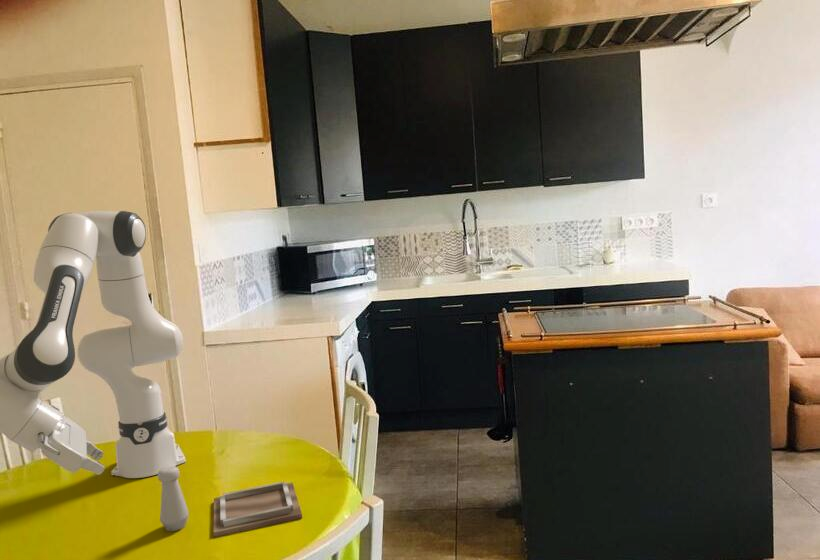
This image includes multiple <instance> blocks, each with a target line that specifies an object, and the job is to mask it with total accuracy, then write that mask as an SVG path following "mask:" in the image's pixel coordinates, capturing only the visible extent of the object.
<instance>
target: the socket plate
mask: <svg viewBox="0 0 820 560" xmlns="http://www.w3.org/2000/svg"><path fill="white" fill-rule="evenodd" d="M301 519H303V513H302V511H301V506H300V502H299V500H298V497H297V494H296V489H295V487H294V483H293V481H292V482H285V481H281V482H280V481H279V482H274V483H270V484H264V485H261V486H254V487H250V488H249V487H248V488H245V489H240V490H235V491H231V492H224V493H222V495H220V496H218V497H214V498H213V537H214V538H216V537H217V538H218V537H220V536H226V535H231V534H236V533H240V532H239V531H241V532H245V531H250V530H254V529H258V528H259V529H260V528H263V527H267V526H268V527H269V526H272V525H277V524H282V523H286V522H290V521H296V520H301ZM253 528H254V529H253ZM249 529H250V530H249ZM244 530H245V531H244ZM235 532H236V533H235Z"/></svg>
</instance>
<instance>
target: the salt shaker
mask: <svg viewBox="0 0 820 560" xmlns="http://www.w3.org/2000/svg"><path fill="white" fill-rule="evenodd" d="M157 478H158V481H159V482H160V483H161V500H160V501H161V502H160V513H159V521H160V523H161V524H162V526H163V527H164V528H165V530H166V531H167V532H176V531H180V530H182V529H184V528H185V526H186V525H187V522H188V518H189V509H188V507H187V503H186V500H185V497H184V494H183V491H182V488H181V485H180V482H179V478H180V469H179V468H178V467H177V466H169V467H165V468H163V469H161V470H160V471H159V472H158V474H157Z"/></svg>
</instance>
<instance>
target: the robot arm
mask: <svg viewBox="0 0 820 560" xmlns="http://www.w3.org/2000/svg"><path fill="white" fill-rule="evenodd" d="M146 238H147V231H146V225H145V222H144V220H143V219H142V218H141V217H140V216H139V215H138V214H137V213H136V212H132V211H127V210H121V211H116V210H114V211H113V210H94V211H85V212H84V211H83V212H76V213H72V212H67V213H63V214H60V215H57V216H55V217H54V219H52V221H51V222H50V224H49V226H48V228H47V233H46V235H45V237H44V239H43V242H42V244H41V245H40V248H39V251H38V254H37V257H36V260H35V264H34V268H33V269H34V270H33V281H34V284H35V285H36V287H37V288H39V289H40V290H41V292H43V293H45V294H44V298H43V301H42V305H41V308H40V311H39V315H38V319H37V322H36V325H34V328H33V329H32V330H30V332H29V333H27V334H26V335H25V336H24V337H23V339H22V340H21V341H20V342H19V343H18V345H17V346H16V347H15V348H14V349H13V350H12V352H10V353H8V354H7V355H4V356H3V357H1V358H0V433H1V434H2V435H4V436H5V437H6V439H8V441H11V442H13V443H15V444H16V445H18V446H20V447H21V448H23V449H25V450H27V451H28V452H30V453H35V451H37V450H38V449H40V451H41V453H42V455H43V456H45V457H46V458H47V459H48V460H50V461H52V462H53V463H55V464H56V465H57V466H60V467H61V468H63V469H64V470H66V471H68V472H71V473H74V474H76V473H77V472H78V471H79V470H80V469H82V470H84V471H88V472H92V473H94V474H96V475H98V476H99V475H101V474H102V473H103V472H104V471H105V469H106V468H105V465H104V464H103V463H101V462H100V460H101V458H103V456H104V452H103V451H102V450H101V449H99V448H98V447H97V446H95V445H94V443H92V442H91V441H90V440H87V432H86V431H85V430H84V428H82V427H81V426H80V425H78V424H77V423H75V422H74V421H73V420H71V419H70V418H68V417H67V416H65V415H64V413H63V412H61V410H60V409H59V408H58V407H56V406H55V405H52V404H48V403H46V402H45V401H43V400H41V399H40V398H39V395H40V393H42V392H43V391H44V390H46V389H48V388H49V387H50V386H51V385H52V384H53V383H55V382H56V381H59V380H61V379H62V378H64V377H65V376H66V375H67V374H68V373H69V372H70V371H71V370H72V368H73V366H74V364H75V360H76V351H75V350H76V349H75V345H74V343H75V342H74V338H73V335H74V334H73V332H74V325H75V321H76V317H77V313H78V309H79V304H80V301H81V297H82V296H81V295H82V293H83V291H84V290H85V288H86V286H87V284H88V282H89V279H90V277H91V275H92V271H93V268H94V264H96V275H97V282H98V288H99V294H100V300H101V304H102V307H103V308H104V309H105V310H106V311H107V312H109V313H111V314H112V315H113V314H114V315H116V316H120V317H123V318H125V319H127V320H128V321H130V322H131V324H130V325H125V326H119V327H112V328H111V327H110V328H104V329H100V330H96V331H94V332H91V333H87V334H85V335H84V336H83V337H82V338H81V340H79V343H78V346H77V358H78V361H79V362H80V364H81V366H82V367H83V368H84V369H86V370H87V371H88V372H91V373H93V374H95V375H97V376H99V377H100V378H101V379H102V380H103V381H104V382H105V383H106V384H107V385H108V386H109V388H110V390H111V391H112V393H113V396H114V398H115V403H116V407H117V408H116V409H117V413H118V419H119V421H118V423H117V424H118V426H117V427H118V428H117V429H118V431H119V436H120V437H119V439H118V440H117V441H116V443H115V446H114V448H115V456H116V466H115V467H113V469H112V470H111V471H110V472H111V476H113V475H115V477H121V478H126V479H141V478H142V479H143V478H146V477H147V478H148V477H151V476H155V475H158V472H159V471H160V470H161V469H163V468H165V467H169V466H175V467H177V466H179V465H181V464H183V463H185V462H187V460H186V457H185V455H184V453H183V451H182V449H181V448H180V445H179V444H178V443H176V440H175V434H174V433H173V432H172V431H171V430H170V429H169V427H168V418H167V415H166V412H165V411H164V405H163V398H162V397H163V396H162V390H161V387H160V385H159V384H158V383H157V382H156V381H154V380H152V379H149V378H147V377H142V376H140V375H136V374H135V373H134V371H133V368H135V367H141V366H148V365H153V364H159V363H162V362H166V361H169V360H171V359H175V358H177V357H178V356H179V355H180V353H181V352H182V350H183V346H184V337H183V333H182V331H181V329H180V327H179V326H178V325H177V324H175V323H174V322H172V321H170V320H168V319H166V318H164V317H163V316H162V315H161V314H160V313H159V312H158V311H157V310H156V309H155V307H154V306H153V304H152V301H151V300H150V299H151V298H150V297H149V293H148V286H147V282H146V276H145V269H144V263H143V258H142V255H141V250H142V249H143V248H144V246H145V244H146V240H147V239H146ZM95 261H96V263H95ZM88 455H89V456H88ZM91 458H92V459H91Z"/></svg>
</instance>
